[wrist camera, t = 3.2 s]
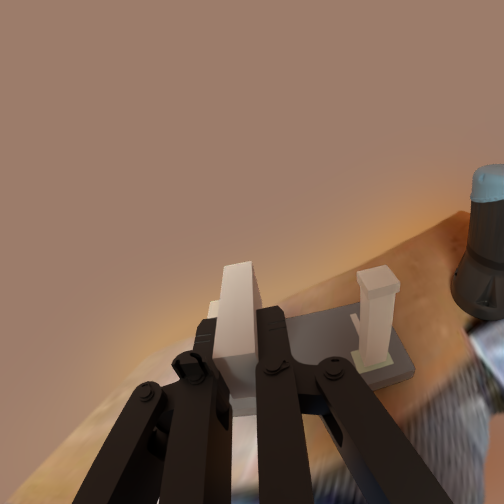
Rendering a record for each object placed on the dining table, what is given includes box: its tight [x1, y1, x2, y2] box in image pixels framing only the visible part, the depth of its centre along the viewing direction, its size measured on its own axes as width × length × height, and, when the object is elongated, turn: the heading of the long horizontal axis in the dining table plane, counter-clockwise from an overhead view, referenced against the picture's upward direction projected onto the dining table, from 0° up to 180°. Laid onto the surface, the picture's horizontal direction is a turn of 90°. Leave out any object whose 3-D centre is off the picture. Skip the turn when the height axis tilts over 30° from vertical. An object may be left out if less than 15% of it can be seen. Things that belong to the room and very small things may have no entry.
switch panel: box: [229, 302, 415, 417], centre depth 36 cm, size 26×16×2 cm, turn 91°
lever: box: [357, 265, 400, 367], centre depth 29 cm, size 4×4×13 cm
